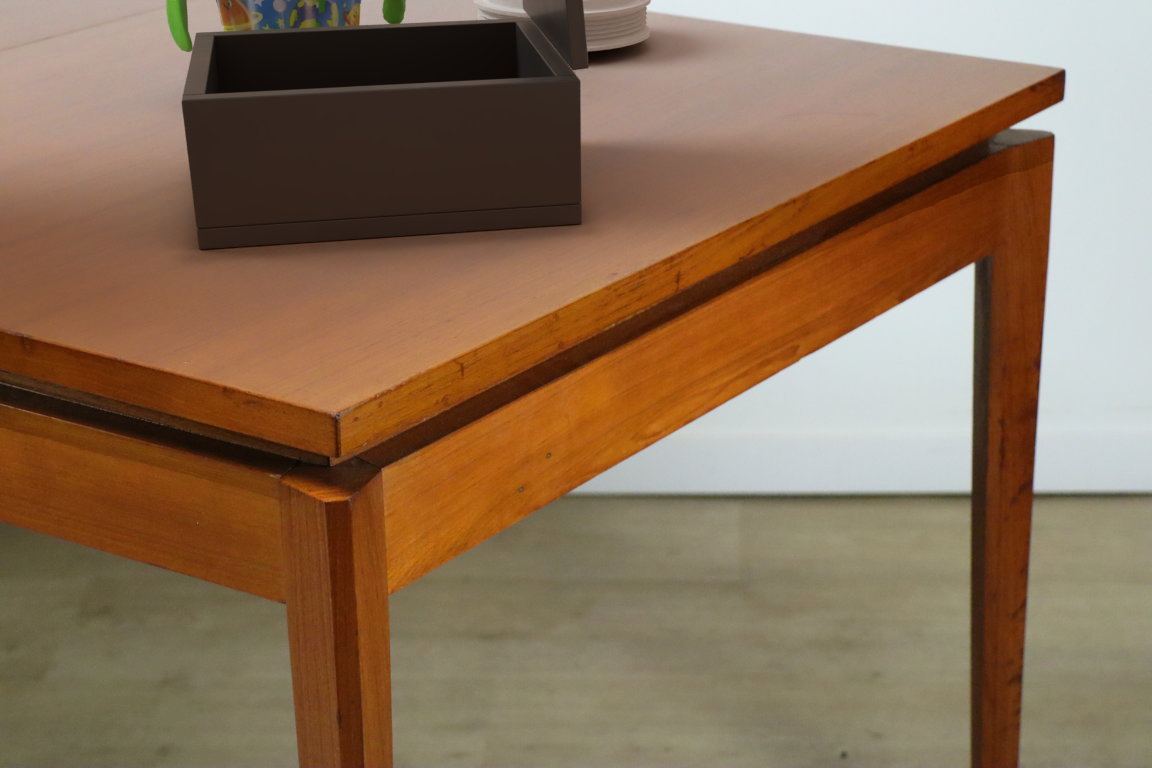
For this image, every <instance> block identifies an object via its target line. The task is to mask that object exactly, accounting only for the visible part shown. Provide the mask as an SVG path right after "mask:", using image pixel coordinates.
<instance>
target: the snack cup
mask: <svg viewBox="0 0 1152 768" xmlns="http://www.w3.org/2000/svg"><path fill="white" fill-rule="evenodd" d="M187 1H188V0H166V17H167V24H168V27H169V30H170V35H171V37H172V39H173V41H174V42H175V44H176V45H177V47H178V48H179V49H180V50H181V51H183V52H186V53H190V52H191V53H192V50H193V40H192V38H191V34H190V32H189V18H188V17H189V16H188V2H187ZM406 1H407V0H383V2H382V9H381V10H382V18H383V20H384V21H386V23H387V24H401V23H402V22H403V21H404V19H405V12H406V7H407V4H406ZM215 2H216V5H217V8H218V9H217V10H218V14H219V19H220V24H221V27H222V30H223V31H244V30H267V29H289V28H311V27H334V26H356V25H361V24H360V23H361V4H362V0H215Z"/></svg>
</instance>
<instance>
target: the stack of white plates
mask: <svg viewBox="0 0 1152 768" xmlns="http://www.w3.org/2000/svg"><path fill="white" fill-rule="evenodd" d="M651 1H652V0H583V7H584V19H585V30H586V41H587V52H597V51H598V52H599V51H604V50H605V51H606V50H613V49H619V48H624V47H628V46H632V45H635V44H638V43H641V42H644V41H645V40H647V39H648V38H650V36H651V28H650V26H648V25H647V24H648V23H647V19H648V18H647V15H648V12H647V10H648V8H647V7H648V5H650V4H651ZM472 4H473V6H474V7H476V8H477V9H476V12H477V14H476V15H477V19H476V20H490V19H513V18H530V17H529V16H528V14H527V13H526V12H525V11H524V9H523V1H522V0H472ZM536 26H537V25H536ZM540 31H541V30H540ZM544 36H545V35H544ZM548 41H549V40H548ZM552 46H553V45H552Z"/></svg>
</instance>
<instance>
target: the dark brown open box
mask: <svg viewBox="0 0 1152 768" xmlns="http://www.w3.org/2000/svg"><path fill="white" fill-rule="evenodd" d="M192 46H193V50H192V51H191V55H190V60H189V65H188V69H187V74H186V78H185V82H184V87H183V93H182V97H181V109H182V119H183V126H184V127H183V128H184V135H185V143H186V152H187V161H188V169H189V177H190V185H191V193H192V194H191V195H192V202H193V211H194V218H195V227H196V237H197V243H198V244H197V246H198V249H199V250H210V249H228V248H241V247H243V248H244V247H255V246H257V247H258V246H269V245H270V246H271V245H288V244H301V243H315V242H330V241H331V242H332V241H345V240H346V241H347V240H361V239H373V238H389V237H390V238H391V237H403V236H406V237H407V236H419V235H433V234H434V235H435V234H449V233H450V234H451V233H464V232H479V231H481V232H482V231H493V230H494V231H495V230H508V229H520V228H521V229H522V228H539V227H553V226H568V225H581V224H582V213H583V212H582V127H581V126H582V109H581V108H582V104H581V101H582V99H581V97H582V95H581V94H582V93H581V92H582V91H581V87H582V86H581V79H580V78H579V77H578V76H577V74H576V73H575V72H574V70H572V69H571V68H570V66H569V65H568V64H567V63H566V61H565V60H564V59H563V58H562V56H561V55H560V54H559V53H558V52H557V50H556V49H555V48H554V47H553V46H552V44H551V43H550V42H549V41H548V39H547V38H546V37H545V36H544V34H543V33H542V32H541V31H540V29H539V28H538V27H537V26H536V24H535V23H534V22H533V20H532V19H531V18H513V19H490V20H477V19H471V20H470V19H468V20H448V21H427V22H426V21H425V22H405V23H404V22H403V23H402V22H401V23H400V24H389V23H381V24H379V23H378V24H360V25H356V26H334V27H311V28H289V29H267V30H244V31H224V30H223V31H204V32H203V31H202V32H196V33H195V35H194V41H193V44H192Z"/></svg>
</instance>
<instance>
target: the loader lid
mask: <svg viewBox="0 0 1152 768" xmlns="http://www.w3.org/2000/svg"><path fill="white" fill-rule="evenodd" d="M522 1H523V9H524V11H525V12H526V13H527V14H528V16H529V17H530V18H531V19H532V20H533V22H534V23H535V24H536V25H537V27H538V28H539V29H540V30H541V32H542V33H543V34H544V35H545V37H546V38H547V39H548V40H549V42H550V43H551V44H552V45H553V47H554V48H555V49H556V50H557V52H558V53H559V54H560V55H561V57H562V58H563V59H564V60H565V62H566V63H567V64H568V65H569V67H570V68H571V69H572V70H573V71H579V70H585V69H586V70H587V69H589V65H590V64H589V55H588V53H589V52H588V51H587V41H586V30H585V19H584V7H583V0H522Z"/></svg>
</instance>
